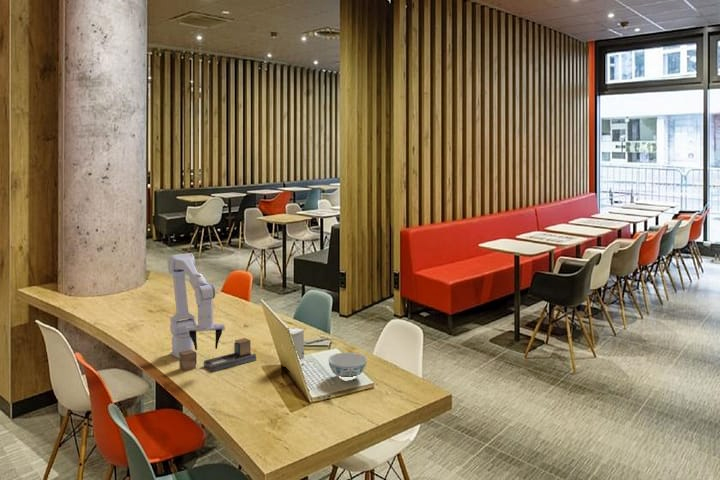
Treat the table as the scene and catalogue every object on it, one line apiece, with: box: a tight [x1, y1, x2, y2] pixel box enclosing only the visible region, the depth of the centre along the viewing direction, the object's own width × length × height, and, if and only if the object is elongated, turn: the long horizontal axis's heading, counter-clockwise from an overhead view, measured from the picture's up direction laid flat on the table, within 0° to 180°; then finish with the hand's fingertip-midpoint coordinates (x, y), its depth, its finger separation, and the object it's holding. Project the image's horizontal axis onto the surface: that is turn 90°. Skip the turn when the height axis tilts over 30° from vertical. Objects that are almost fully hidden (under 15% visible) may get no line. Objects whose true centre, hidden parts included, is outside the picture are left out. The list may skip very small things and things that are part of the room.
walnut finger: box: [178, 349, 197, 372], centre depth 235 cm, size 4×6×7 cm
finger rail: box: [203, 337, 257, 373], centre depth 241 cm, size 8×20×8 cm, turn 133°
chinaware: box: [327, 352, 368, 377], centre depth 227 cm, size 15×15×8 cm
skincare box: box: [288, 327, 305, 360], centre depth 239 cm, size 8×6×15 cm
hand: (206, 348), depth 231 cm, fingers open, 7 cm apart
